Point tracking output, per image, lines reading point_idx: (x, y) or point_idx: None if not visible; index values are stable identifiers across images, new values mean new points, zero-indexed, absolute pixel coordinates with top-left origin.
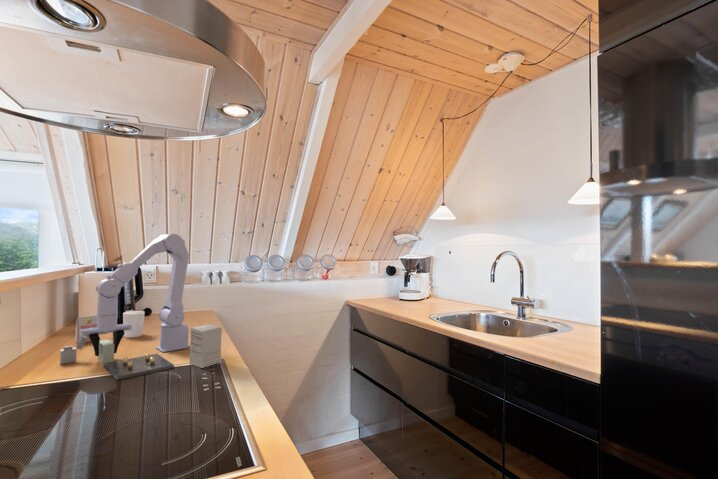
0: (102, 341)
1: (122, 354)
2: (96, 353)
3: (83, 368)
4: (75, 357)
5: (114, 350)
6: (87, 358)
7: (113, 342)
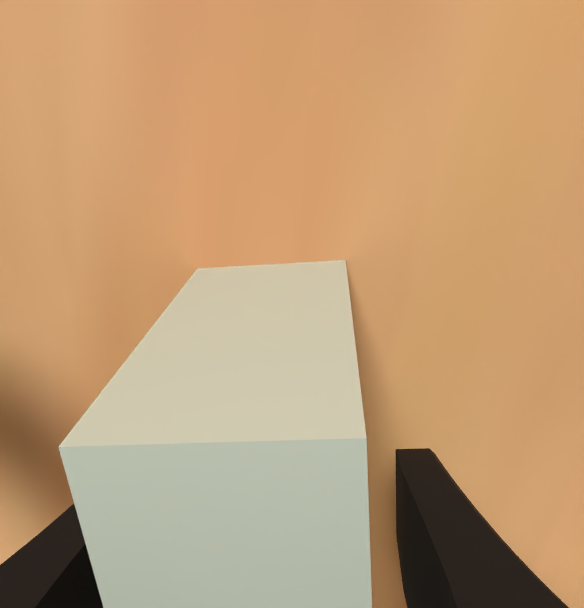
0: (175, 566)
1: (565, 288)
2: None
3: None
4: None
5: (405, 589)
6: (57, 197)
7: (445, 601)
